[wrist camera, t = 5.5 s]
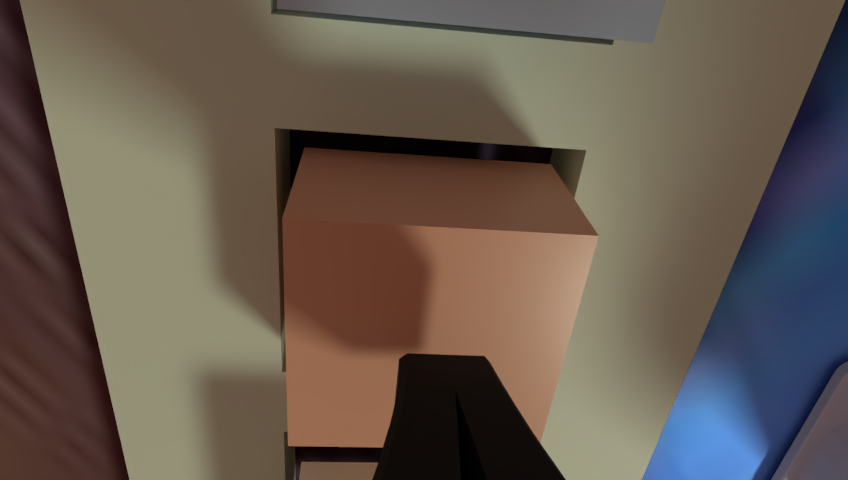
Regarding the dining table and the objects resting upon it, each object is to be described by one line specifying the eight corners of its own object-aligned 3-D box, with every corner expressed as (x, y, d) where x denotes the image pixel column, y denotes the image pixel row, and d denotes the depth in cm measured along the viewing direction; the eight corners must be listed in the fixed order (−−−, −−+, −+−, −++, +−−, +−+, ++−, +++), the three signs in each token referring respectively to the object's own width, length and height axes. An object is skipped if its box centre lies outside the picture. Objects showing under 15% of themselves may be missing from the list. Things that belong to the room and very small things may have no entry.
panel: (944, -466, 9) (1081, -555, 7) (575, 538, 21) (592, 594, 19) (-43, -662, 7) (-171, -837, 6) (176, 539, 20) (157, 600, 18)
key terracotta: (551, 164, 12) (598, 236, 9) (509, 351, 14) (538, 449, 12) (304, 147, 11) (282, 218, 9) (305, 345, 14) (288, 446, 11)
